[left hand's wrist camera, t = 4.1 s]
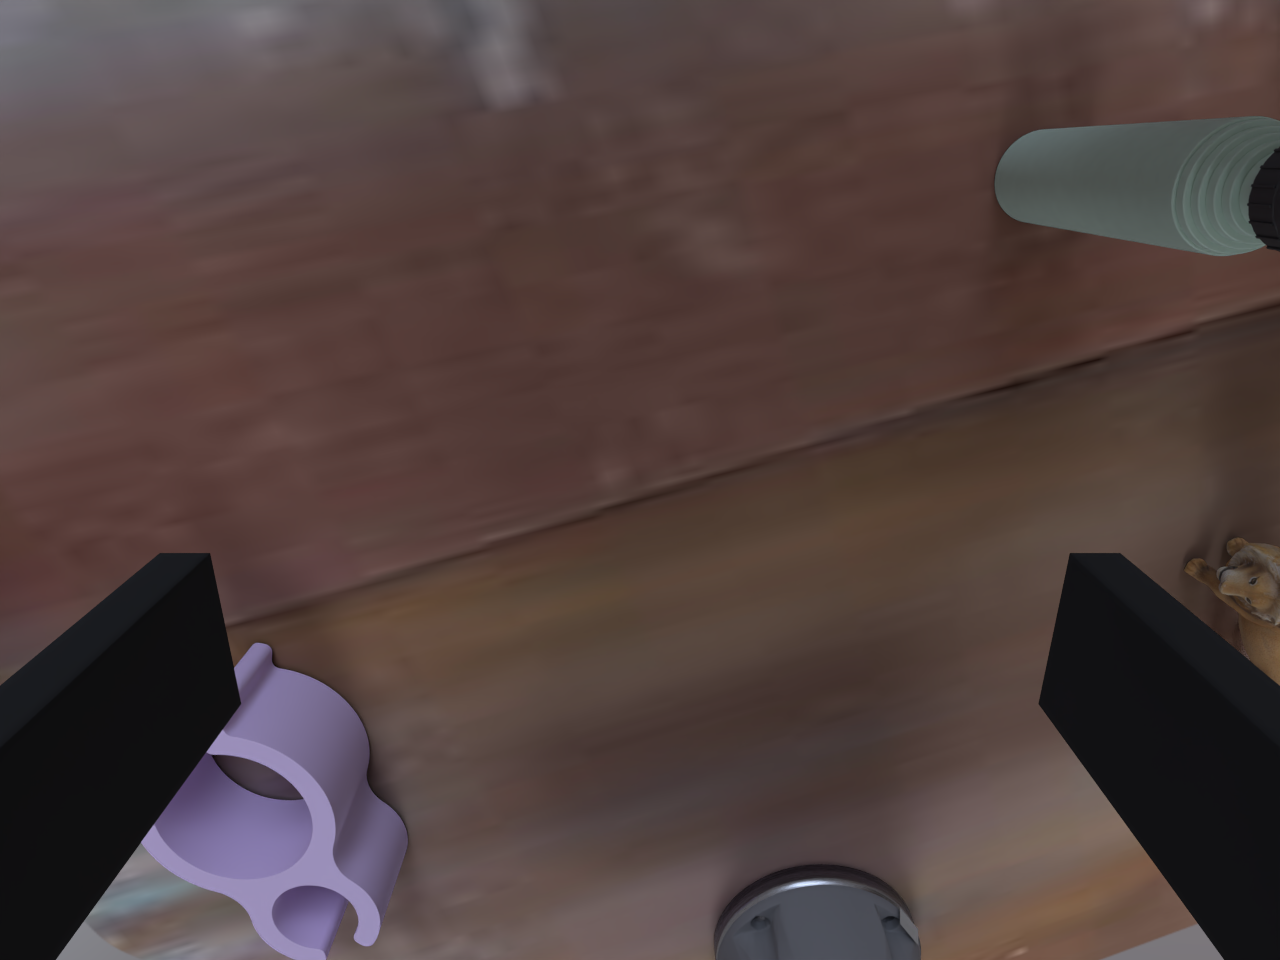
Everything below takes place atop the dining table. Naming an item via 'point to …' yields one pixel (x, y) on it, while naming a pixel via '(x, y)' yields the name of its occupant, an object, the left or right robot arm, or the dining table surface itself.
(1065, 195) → the bottle
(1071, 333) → the dining table surface
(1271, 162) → the cap
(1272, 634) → the lion figurine
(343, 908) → the clip
